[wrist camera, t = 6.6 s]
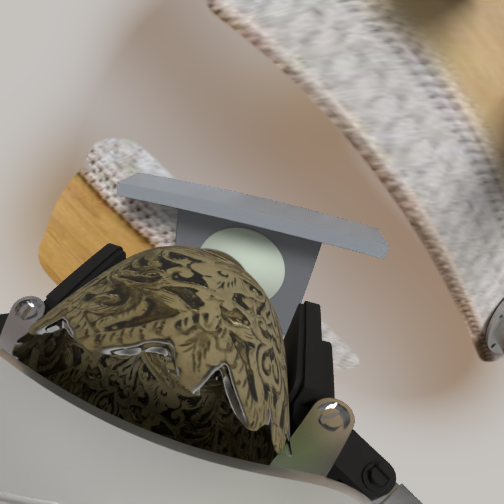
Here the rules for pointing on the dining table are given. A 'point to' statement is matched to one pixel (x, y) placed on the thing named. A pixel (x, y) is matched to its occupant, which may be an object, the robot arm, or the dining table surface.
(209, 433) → the cup
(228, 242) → the mat
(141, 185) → the acrylic wall
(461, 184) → the dining table surface
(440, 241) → the dining table surface
